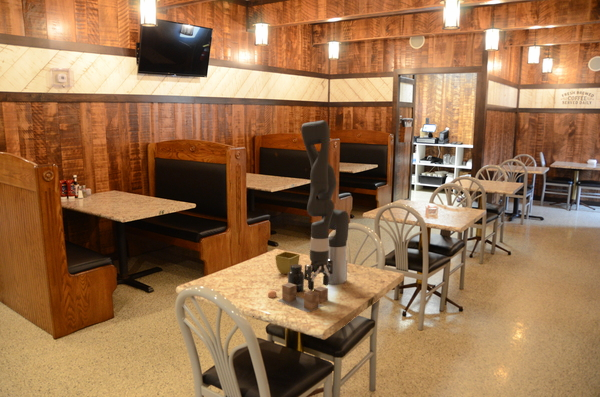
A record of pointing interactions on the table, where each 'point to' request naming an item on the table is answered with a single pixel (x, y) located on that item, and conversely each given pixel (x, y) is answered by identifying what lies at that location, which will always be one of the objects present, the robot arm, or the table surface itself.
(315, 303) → the block
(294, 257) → the flower pot
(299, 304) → the slate board
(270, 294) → the ball
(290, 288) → the block
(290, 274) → the supplement bottle
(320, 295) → the loose block
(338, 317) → the table surface
